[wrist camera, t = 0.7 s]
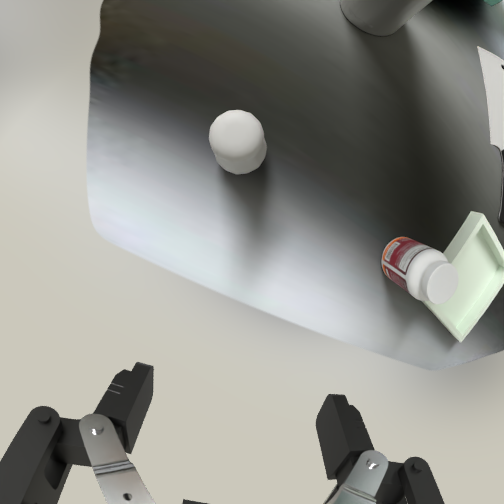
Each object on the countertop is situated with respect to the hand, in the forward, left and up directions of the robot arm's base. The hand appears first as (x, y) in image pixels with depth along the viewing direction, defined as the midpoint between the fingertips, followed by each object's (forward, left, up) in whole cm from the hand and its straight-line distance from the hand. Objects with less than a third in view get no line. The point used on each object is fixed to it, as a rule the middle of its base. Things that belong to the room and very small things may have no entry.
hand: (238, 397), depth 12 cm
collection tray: (-18, +30, -25) cm, 43 cm away
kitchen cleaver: (-42, +20, -26) cm, 54 cm away
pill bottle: (-12, +17, -25) cm, 33 cm away
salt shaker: (-9, -8, -25) cm, 28 cm away
